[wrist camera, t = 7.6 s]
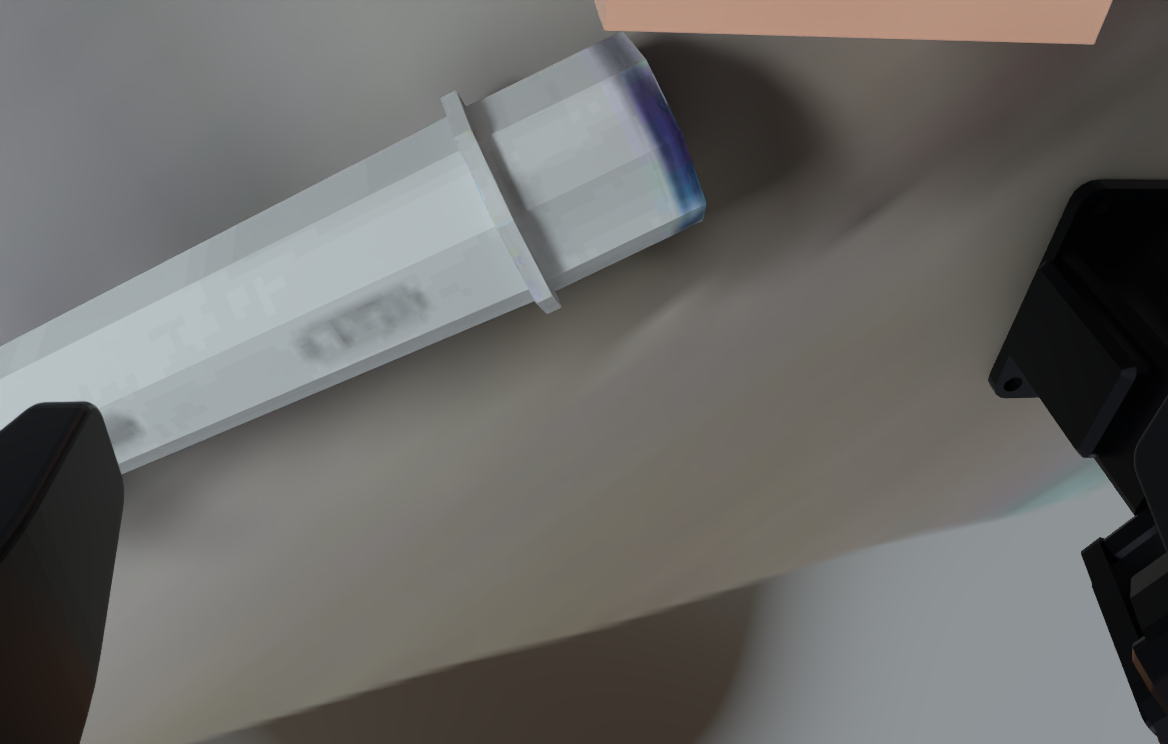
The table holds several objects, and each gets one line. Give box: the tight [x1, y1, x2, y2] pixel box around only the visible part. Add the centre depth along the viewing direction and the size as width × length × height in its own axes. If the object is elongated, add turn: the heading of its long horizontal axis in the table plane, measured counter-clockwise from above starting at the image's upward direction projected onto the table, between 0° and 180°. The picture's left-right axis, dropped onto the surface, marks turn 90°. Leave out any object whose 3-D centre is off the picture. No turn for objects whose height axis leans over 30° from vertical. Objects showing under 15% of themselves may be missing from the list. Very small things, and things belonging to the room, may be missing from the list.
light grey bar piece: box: [0, 31, 707, 474], centre depth 21 cm, size 5×7×25 cm
